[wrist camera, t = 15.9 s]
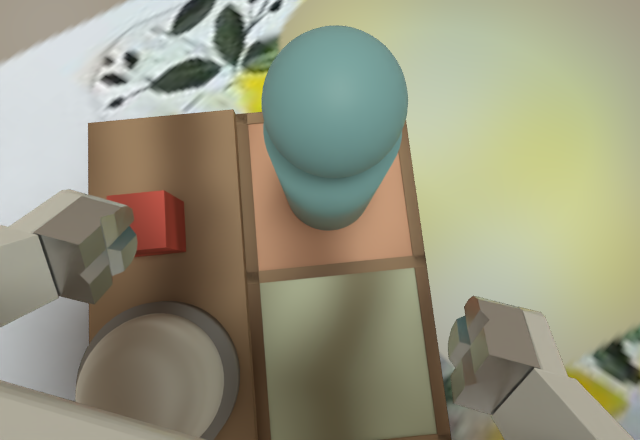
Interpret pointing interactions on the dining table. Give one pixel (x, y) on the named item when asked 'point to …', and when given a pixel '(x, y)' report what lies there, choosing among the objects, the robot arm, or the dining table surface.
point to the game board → (257, 295)
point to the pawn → (333, 122)
